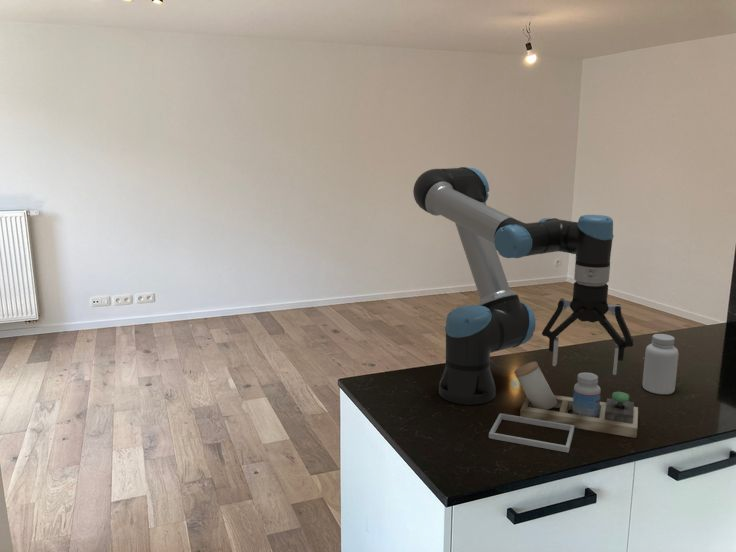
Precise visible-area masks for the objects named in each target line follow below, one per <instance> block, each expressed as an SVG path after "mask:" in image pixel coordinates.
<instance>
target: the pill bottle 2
mask: <svg viewBox="0 0 736 552" xmlns="http://www.w3.org/2000/svg"><path fill="white" fill-rule="evenodd" d="M651 337H652V338H651V343H650V344H648V345H647V346H646V347H645V354H644V364H643V375H642V387H643V389H644V390H646V391H647V392H649V393H652V394H657V395H671V394H673V393H674V392H675V390H676V383H677V382H676V381H677V372H678V362H679V350H678V348H677V347H676V346H675V339H676V338H675V337H674V336H673V335H670V334H666V333H654V334H653V335H652V336H651Z"/></svg>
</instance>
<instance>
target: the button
mask: <svg viewBox="0 0 736 552" xmlns="http://www.w3.org/2000/svg"><path fill="white" fill-rule="evenodd" d="M611 399H614V400H615V401H617V406H618V407H623V402H627V401H630V400H629V399H630V394H628V393H626V392H623V391H614V392H612V395H611Z"/></svg>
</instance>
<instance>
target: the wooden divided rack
mask: <svg viewBox="0 0 736 552" xmlns="http://www.w3.org/2000/svg"><path fill="white" fill-rule="evenodd" d="M553 395H554V396H555V398H556V400H557V404H556V405H555V406H554V407H553V408H556V409H559V411H557V410H556V411H555V410H550V409H549V410H544V409H537V408H533V407H532V405H531V403H530V401H529V399H528V397H527V396H526V397H525V399H524V401H523V402H522V403H523V404H522V406H521V408H520V413H519V414H520V415H519V416H520V417H526V418H532V419H538V420H544V421H550V422H557V423H563V424H569V425H574V429H581V430H585V431H592V432H597V433H605V434H610V435H616V436H623V437H628V438H634V439H637V437H638V423H639V421H638V420H639V407H638V406H635V402H634V401H630V400H628V401H627V402H623V407H618V406H617V401H615V400H614V399H612V398H606V402H604V401H600V414H599V418H595V417H589V416H582V415H576V414H573V413H568V412H569V411H570V410H571V411H573V397H571V396H564V395H555V394H553Z"/></svg>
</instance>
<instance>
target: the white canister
mask: <svg viewBox="0 0 736 552" xmlns="http://www.w3.org/2000/svg"><path fill="white" fill-rule="evenodd" d="M514 375H515V377H516V378H517V380H518V382H519V384H520V386H521V388H522V389H523V392H524V393H525V395H526V397H528V399H529V401H530V403H531V408H537V409H544V410H550V409H552V408H555V407H554V406H555V405H556V404H557V400H556V398H555V396H554V395H555V394H554V393H553V391H552V389H551V387H550V385H549V384H548V381H547V380H546V378H545V376H544V374H543V372H542V370H541V368H540V367H539V364H538V362H537V361H530V362H527V363H524V364H523V365H521V366H519V367H518V368H517V369H515V370H514Z"/></svg>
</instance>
